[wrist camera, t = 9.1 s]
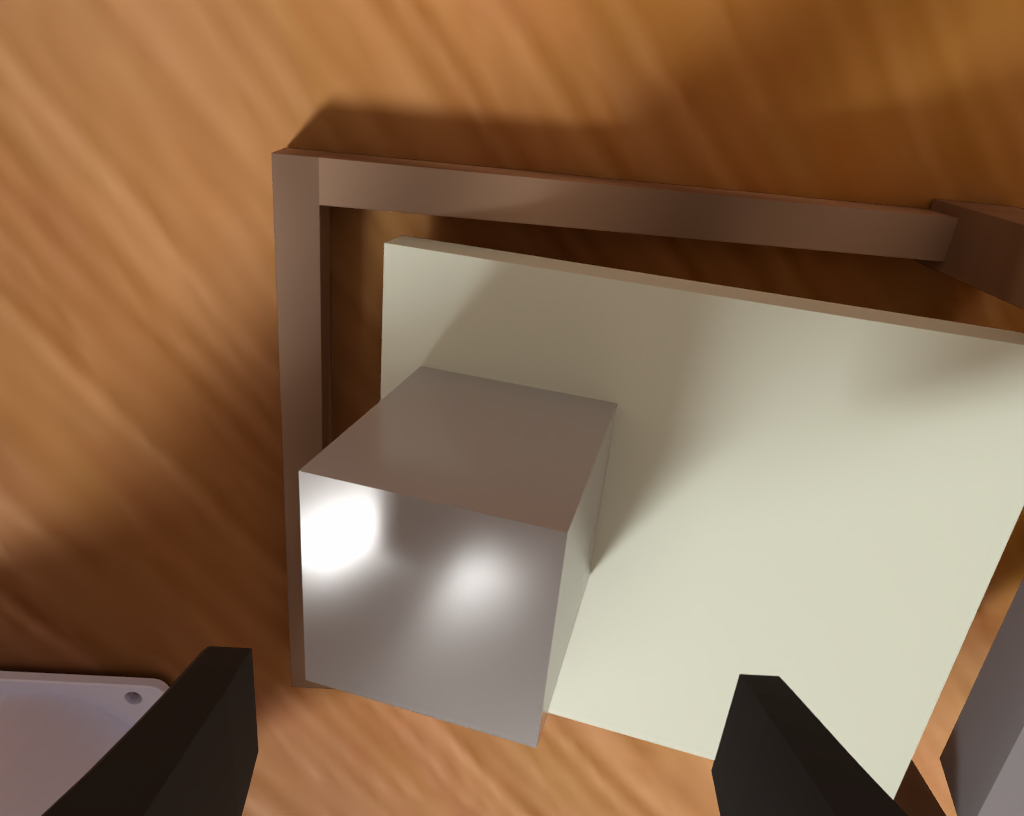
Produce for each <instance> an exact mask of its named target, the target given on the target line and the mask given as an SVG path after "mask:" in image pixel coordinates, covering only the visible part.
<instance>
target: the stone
mask: <svg viewBox="0 0 1024 816" xmlns="http://www.w3.org/2000/svg"><path fill="white" fill-rule="evenodd" d="M617 404H618V403H613V402H608V401H603V400H597V399H592V398H587V397H582V396H576V395H571V394H566V393H561V392H555V391H550V390H545V389H539V388H534V387H529V386H524V385H518V384H513V383H508V382H503V381H497V380H492V379H487V378H481V377H476V376H471V375H466V374H460V373H455V372H450V371H445V370H439V369H434V368H429V367H424V366H420V367H419V368H418V369H417V370H416V371H414V372H413V373H412V374H411V375H410V376H409V377H407V378H406V379H405V380H404V381H403V382H402V383H400V384H399V385H398V386H397V387H396V388H395V389H394V390H392V391H391V392H390V393H389V394H388V395H387V396H385V397H384V398H383V399H382V400H381V401H380V402H378V403H377V404H376V405H375V406H374V407H373V408H371V409H370V410H369V411H368V412H367V413H366V414H364V415H363V416H362V417H361V418H360V419H359V420H357V421H356V422H355V423H354V424H353V425H352V426H350V427H349V428H348V429H347V430H346V431H345V432H343V433H342V434H341V435H340V436H339V437H338V438H336V439H335V440H334V441H333V442H332V443H331V444H329V445H328V446H327V447H326V448H325V449H324V450H322V451H321V452H320V453H319V454H318V455H317V456H315V457H314V458H313V459H312V460H311V461H310V462H308V463H307V464H306V465H305V466H304V467H303V468H301V469H300V470H299V495H300V526H301V556H302V587H303V617H304V648H305V678H306V680H308V681H311V682H314V683H318V684H321V685H325V686H328V687H331V688H335V689H338V690H341V691H345V692H348V693H352V694H355V695H358V696H362V697H365V698H369V699H372V700H375V701H379V702H382V703H385V704H389V705H392V706H396V707H399V708H402V709H406V710H409V711H413V712H416V713H419V714H423V715H426V716H429V717H433V718H436V719H440V720H443V721H446V722H450V723H453V724H457V725H460V726H463V727H467V728H470V729H473V730H477V731H480V732H484V733H487V734H490V735H494V736H497V737H501V738H504V739H507V740H511V741H514V742H517V743H521V744H524V745H528V746H531V747H534V748H537V746H538V743H539V740H540V736H541V733H542V730H543V727H544V723H545V720H546V717H547V713H548V710H549V707H550V704H551V700H552V697H553V694H554V691H555V687H556V684H557V681H558V677H559V674H560V671H561V668H562V664H563V661H564V658H565V654H566V651H567V648H568V645H569V641H570V638H571V635H572V632H573V628H574V625H575V622H576V618H577V615H578V612H579V609H580V605H581V602H582V599H583V596H584V592H585V589H586V586H587V582H588V579H589V576H590V570H591V564H592V558H593V552H594V546H595V540H596V533H597V527H598V521H599V515H600V509H601V502H602V496H603V490H604V484H605V478H606V472H607V465H608V459H609V453H610V447H611V441H612V434H613V428H614V422H615V416H616V410H617Z"/></svg>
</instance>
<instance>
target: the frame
mask: <svg viewBox="0 0 1024 816" xmlns="http://www.w3.org/2000/svg"><path fill="white" fill-rule="evenodd" d="M272 180H273V207H274V234H275V261H276V288H277V315H278V342H279V369H280V396H281V423H282V450H283V477H284V504H285V531H286V558H287V586H288V613H289V640H290V667H291V687H303V688H324V689H335V688H331V687H328V686H325V685H321V684H318V683H314V682H311V681H308V680H306V678H305V648H304V617H303V587H302V556H301V526H300V495H299V470H300V469H301V468H303V467H304V466H305V465H306V464H307V463H308V462H310V461H311V460H312V459H313V458H314V457H315V456H317V455H318V454H319V453H320V452H321V451H322V450H324V449H325V448H326V447H327V446H328V445H329V444H331V291H330V206H337V207H348V208H359V209H370V210H381V211H392V212H403V213H414V214H425V215H436V216H447V217H458V218H469V219H480V220H491V221H502V222H513V223H524V224H535V225H546V226H557V227H568V228H579V229H590V230H601V231H612V232H623V233H634V234H645V235H656V236H667V237H678V238H689V239H700V240H711V241H722V242H733V243H744V244H755V245H766V246H777V247H788V248H799V249H810V250H821V251H832V252H843V253H854V254H865V255H876V256H887V257H898V258H909V259H914V261H917V262H919V263H921V264H923V265H926V266H928V267H930V268H932V269H934V270H937V271H939V272H941V273H943V274H946V275H948V276H950V277H952V278H955V279H957V280H959V281H961V282H963V283H966V284H968V285H970V286H972V287H975V288H977V289H979V290H981V291H984V292H986V293H988V294H990V295H992V296H995V297H997V298H999V299H1001V300H1004V301H1006V302H1008V303H1010V304H1013V305H1015V306H1017V307H1019V308H1021V309H1024V209H1021V208H1017V207H1013V206H1004V205H994V204H983V203H973V202H962V201H952V200H942V199H933V202H932V205H931V208H930V209H922V208H912V207H901V206H891V205H880V204H870V203H859V202H849V201H838V200H828V199H817V198H807V197H797V196H786V195H776V194H765V193H755V192H744V191H734V190H723V189H713V188H702V187H692V186H681V185H671V184H660V183H650V182H639V181H629V180H619V179H608V178H598V177H587V176H577V175H566V174H556V173H545V172H535V171H524V170H514V169H503V168H493V167H482V166H472V165H461V164H451V163H440V162H430V161H420V160H409V159H399V158H388V157H378V156H367V155H357V154H346V153H336V152H325V151H315V150H304V149H294V148H283V149H281V150H278V151H276V152H273V153H272ZM894 801H895V802H896V803H897V804H898V805H899V806H900V808H901V809H902V810H903V811H904V812H905V813H906V814H907V815H908V816H946V815H945V813H944V811H943V810H942V808H941V807H940V805H939V803H938V802H937V800H936V798H935V797H934V795H933V794H932V792H931V790H930V789H929V787H928V785H927V784H926V782H925V780H924V779H923V777H922V776H921V774H920V772H919V771H918V769H917V767H916V766H915V764H914V763H913V761H912V759H911V761H910V763H909V766H908V768H907V770H906V772H905V775H904V777H903V779H902V781H901V784H900V786H899V788H898V790H897V793H896V795H895V797H894Z"/></svg>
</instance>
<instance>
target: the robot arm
mask: <svg viewBox="0 0 1024 816" xmlns="http://www.w3.org/2000/svg"><path fill="white" fill-rule="evenodd" d="M133 692H135V693H138V694H139V695H138V694H135V693H133ZM257 754H258V738H257V722H256V707H255V691H254V676H253V660H252V649H251V648H232V647H212V646H209V647H207V648H206V649H205V650H203V651H202V652H201V653H200V654H199V655H198V656H197V657H196V659H195V660H194V661H193V662H192V663H191V664H190V665H189V666H188V667H187V668H186V670H185V671H184V672H183V673H182V674H181V675H180V676H179V677H178V678H177V680H176V681H175V682H174V683H173V684H172V685H171V686H170V687H169V686H168V685H167V684H166V683H165V682H163V681H161V680H159V679H154V678H135V677H115V676H95V675H74V674H54V673H34V672H13V671H0V816H242V812H243V808H244V805H245V801H246V797H247V794H248V790H249V786H250V782H251V778H252V774H253V770H254V766H255V762H256V758H257ZM712 776H713V781H714V786H715V791H716V796H717V801H718V806H719V811H720V816H908V815H907V814H906V813H905V812H904V811H903V810H902V809H901V808H900V806H899V805H898V804H897V803H896V802H895V801H894V800H893V799H892V798H891V797H890V796H889V795H888V794H887V793H886V792H885V791H884V790H883V789H882V788H881V787H880V786H879V785H878V783H877V782H876V781H875V780H874V779H873V778H872V777H871V776H870V775H869V774H868V773H867V772H866V771H865V770H864V769H863V767H862V766H861V765H860V764H859V763H858V762H857V761H856V760H855V759H854V758H853V757H852V756H851V755H850V753H849V752H848V751H847V750H846V749H845V748H844V747H843V746H842V745H841V744H840V742H839V741H838V740H837V739H836V738H835V737H834V736H833V735H832V734H831V733H830V731H829V730H828V729H827V728H826V727H825V726H824V725H823V724H822V723H821V721H820V720H819V719H818V718H817V717H816V716H815V715H814V714H813V713H812V711H811V710H810V709H809V708H808V707H807V706H806V705H805V704H804V703H803V701H802V700H801V699H800V698H799V697H798V696H797V695H796V694H795V693H794V691H793V690H792V689H791V688H790V687H789V686H788V685H787V684H786V683H785V682H784V681H783V680H782V679H781V678H780V676H769V675H749V674H739V678H738V681H737V685H736V688H735V691H734V695H733V698H732V702H731V705H730V709H729V712H728V716H727V719H726V723H725V726H724V729H723V733H722V736H721V740H720V743H719V747H718V750H717V754H716V757H715V760H714V764H713V767H712Z"/></svg>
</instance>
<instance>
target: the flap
mask: <svg viewBox="0 0 1024 816" xmlns="http://www.w3.org/2000/svg"><path fill="white" fill-rule="evenodd" d="M420 366H424V367H429V368H434V369H439V370H445V371H450V372H455V373H460V374H466V375H471V376H476V377H481V378H487V379H492V380H497V381H503V382H508V383H513V384H518V385H524V386H529V387H534V388H539V389H545V390H550V391H555V392H561V393H566V394H571V395H576V396H582V397H587V398H592V399H597V400H603V401H608V402H613V403H618V404H617V410H616V416H615V422H614V428H613V434H612V441H611V447H610V453H609V459H608V465H607V472H606V478H605V484H604V490H603V496H602V502H601V509H600V515H599V521H598V527H597V533H596V540H595V546H594V552H593V558H592V564H591V570H590V576H589V579H588V582H587V586H586V589H585V592H584V596H583V599H582V602H581V605H580V609H579V612H578V615H577V618H576V622H575V625H574V628H573V632H572V635H571V638H570V641H569V645H568V648H567V651H566V654H565V658H564V661H563V664H562V668H561V671H560V674H559V677H558V681H557V684H556V687H555V691H554V694H553V697H552V700H551V704H550V707H549V710H548V713H552V714H555V715H559V716H562V717H565V718H569V719H572V720H576V721H579V722H583V723H586V724H590V725H593V726H597V727H600V728H604V729H607V730H611V731H614V732H617V733H621V734H624V735H628V736H631V737H635V738H638V739H642V740H645V741H649V742H652V743H656V744H659V745H663V746H666V747H670V748H673V749H676V750H680V751H683V752H687V753H690V754H694V755H697V756H701V757H704V758H708V759H711V760H715V757H716V754H717V750H718V747H719V743H720V740H721V736H722V733H723V729H724V726H725V723H726V719H727V716H728V712H729V709H730V705H731V702H732V698H733V695H734V691H735V688H736V685H737V681H738V678H739V674H749V675H769V676H780V678H781V679H782V680H783V681H784V682H785V683H786V684H787V685H788V686H789V687H790V688H791V689H792V690H793V691H794V693H795V694H796V695H797V696H798V697H799V698H800V699H801V700H802V701H803V703H804V704H805V705H806V706H807V707H808V708H809V709H810V710H811V711H812V713H813V714H814V715H815V716H816V717H817V718H818V719H819V720H820V721H821V723H822V724H823V725H824V726H825V727H826V728H827V729H828V730H829V731H830V733H831V734H832V735H833V736H834V737H835V738H836V739H837V740H838V741H839V742H840V744H841V745H842V746H843V747H844V748H845V749H846V750H847V751H848V752H849V753H850V755H851V756H852V757H853V758H854V759H855V760H856V761H857V762H858V763H859V764H860V765H861V766H862V767H863V769H864V770H865V771H866V772H867V773H868V774H869V775H870V776H871V777H872V778H873V779H874V780H875V781H876V782H877V783H878V785H879V786H880V787H881V788H882V789H883V790H884V791H885V792H886V793H887V794H888V795H889V796H890V797H891V798H892V799H893V800H894V797H895V795H896V793H897V790H898V788H899V786H900V784H901V781H902V779H903V777H904V775H905V772H906V770H907V768H908V766H909V763H910V761H911V759H912V757H913V754H914V752H915V750H916V748H917V745H918V743H919V741H920V739H921V736H922V734H923V732H924V729H925V727H926V725H927V723H928V720H929V718H930V716H931V714H932V711H933V709H934V707H935V705H936V702H937V700H938V698H939V696H940V693H941V691H942V689H943V687H944V684H945V682H946V680H947V678H948V675H949V673H950V671H951V668H952V666H953V664H954V662H955V659H956V657H957V655H958V653H959V650H960V648H961V646H962V644H963V641H964V639H965V637H966V635H967V632H968V630H969V628H970V626H971V623H972V621H973V619H974V617H975V614H976V612H977V610H978V607H979V605H980V603H981V601H982V598H983V596H984V594H985V592H986V589H987V587H988V585H989V583H990V580H991V578H992V576H993V574H994V571H995V569H996V567H997V565H998V562H999V560H1000V558H1001V556H1002V553H1003V551H1004V549H1005V547H1006V544H1007V542H1008V540H1009V537H1010V535H1011V533H1012V531H1013V528H1014V526H1015V524H1016V522H1017V519H1018V517H1019V515H1020V513H1021V510H1022V508H1023V506H1024V333H1022V332H1016V331H1010V330H1003V329H997V328H991V327H984V326H978V325H971V324H965V323H959V322H952V321H946V320H940V319H933V318H927V317H920V316H914V315H908V314H901V313H895V312H889V311H882V310H876V309H869V308H863V307H857V306H850V305H844V304H838V303H831V302H825V301H818V300H812V299H806V298H799V297H793V296H787V295H780V294H774V293H767V292H761V291H755V290H748V289H742V288H735V287H729V286H723V285H716V284H710V283H704V282H697V281H691V280H684V279H678V278H672V277H665V276H659V275H653V274H646V273H640V272H633V271H627V270H621V269H614V268H608V267H602V266H595V265H589V264H582V263H576V262H570V261H563V260H557V259H551V258H544V257H538V256H531V255H525V254H519V253H512V252H506V251H500V250H493V249H487V248H480V247H474V246H468V245H461V244H455V243H449V242H442V241H436V240H429V239H423V238H417V237H410V236H404V235H402V236H400V237H397V238H395V239H392V240H390V241H388V242H385V243H384V273H383V315H382V357H381V400H382V399H383V398H384V397H385V396H387V395H388V394H389V393H390V392H391V391H392V390H394V389H395V388H396V387H397V386H398V385H399V384H400V383H402V382H403V381H404V380H405V379H406V378H407V377H409V376H410V375H411V374H412V373H413V372H414V371H416V370H417V369H418V368H419V367H420ZM381 400H380V401H381ZM940 761H941V764H942V767H943V771H944V774H945V777H946V780H947V784H948V787H949V790H950V793H951V797H952V800H953V803H954V806H955V810H956V813H957V816H1024V578H1023V580H1022V582H1021V584H1020V586H1019V588H1018V591H1017V593H1016V595H1015V597H1014V599H1013V601H1012V603H1011V606H1010V608H1009V610H1008V612H1007V614H1006V616H1005V619H1004V621H1003V623H1002V625H1001V627H1000V629H999V631H998V634H997V636H996V638H995V640H994V642H993V644H992V647H991V649H990V651H989V653H988V655H987V657H986V659H985V662H984V664H983V666H982V668H981V670H980V672H979V675H978V677H977V679H976V681H975V683H974V685H973V687H972V690H971V692H970V694H969V696H968V698H967V700H966V703H965V705H964V707H963V709H962V711H961V713H960V715H959V718H958V720H957V722H956V724H955V726H954V728H953V731H952V733H951V735H950V737H949V739H948V741H947V743H946V746H945V748H944V750H943V752H942V754H941V756H940Z"/></svg>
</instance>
